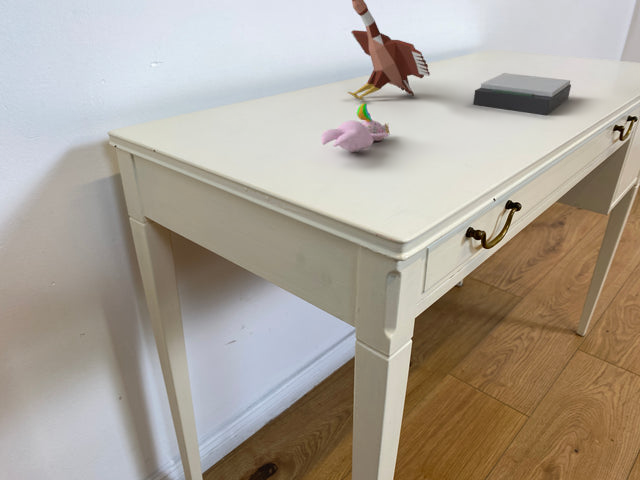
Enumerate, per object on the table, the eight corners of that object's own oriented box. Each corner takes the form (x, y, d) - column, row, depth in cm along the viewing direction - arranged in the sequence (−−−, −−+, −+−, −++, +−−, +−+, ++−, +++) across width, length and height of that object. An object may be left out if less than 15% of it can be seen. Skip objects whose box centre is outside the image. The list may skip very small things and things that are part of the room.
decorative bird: (294, 67, 97) (322, -14, 92) (373, 98, 105) (403, 25, 100) (345, 100, 73) (387, -7, 68) (442, 136, 81) (487, 44, 76)
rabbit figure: (357, 141, 72) (303, 155, 59) (361, 98, 70) (307, 103, 57) (398, 148, 69) (351, 163, 56) (404, 103, 67) (357, 109, 54)
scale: (546, 115, 79) (551, 94, 77) (472, 104, 85) (475, 85, 84) (568, 98, 89) (572, 79, 87) (500, 90, 95) (503, 72, 94)
